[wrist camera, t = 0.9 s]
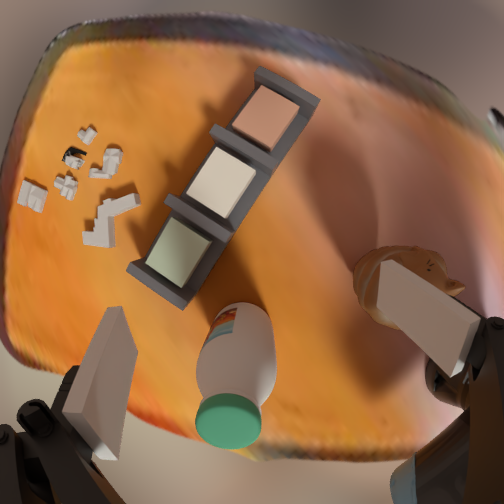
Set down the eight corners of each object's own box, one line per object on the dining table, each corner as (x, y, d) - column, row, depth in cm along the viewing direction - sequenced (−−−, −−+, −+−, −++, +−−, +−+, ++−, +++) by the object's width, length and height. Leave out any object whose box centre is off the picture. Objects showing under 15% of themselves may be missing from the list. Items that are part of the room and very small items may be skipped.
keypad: (312, 116, 33) (320, 99, 28) (193, 298, 36) (182, 310, 31) (259, 85, 33) (259, 65, 28) (143, 263, 36) (125, 270, 31)
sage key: (212, 240, 33) (209, 241, 30) (186, 283, 33) (181, 287, 31) (177, 217, 33) (171, 217, 30) (152, 260, 33) (145, 262, 31)
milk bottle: (260, 292, 36) (262, 371, 16) (280, 345, 37) (297, 451, 17) (204, 311, 36) (152, 398, 17) (226, 361, 37) (201, 469, 17)
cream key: (255, 174, 32) (255, 170, 30) (227, 218, 33) (224, 218, 30) (219, 151, 32) (216, 146, 29) (191, 195, 32) (185, 193, 30)
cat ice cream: (379, 227, 35) (467, 234, 17) (401, 278, 35) (487, 317, 17) (322, 260, 35) (378, 296, 17) (347, 312, 36) (409, 378, 18)
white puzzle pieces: (63, 92, 34) (56, 87, 32) (179, 119, 34) (174, 114, 32) (20, 204, 36) (12, 203, 34) (123, 259, 36) (116, 261, 34)
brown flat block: (297, 113, 31) (299, 106, 29) (270, 152, 32) (270, 147, 29) (261, 93, 31) (261, 84, 28) (233, 131, 31) (231, 124, 29)
